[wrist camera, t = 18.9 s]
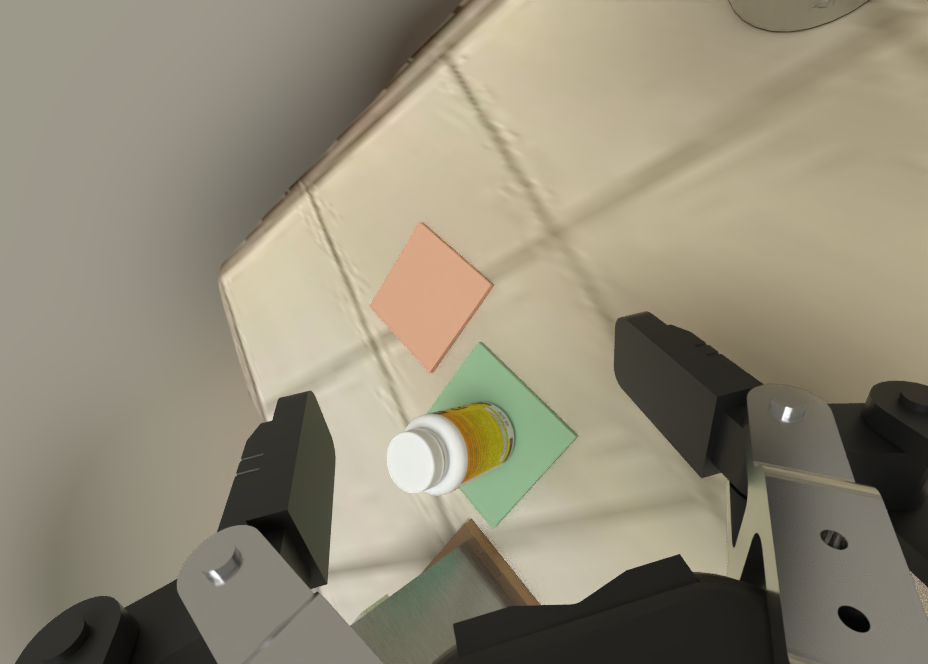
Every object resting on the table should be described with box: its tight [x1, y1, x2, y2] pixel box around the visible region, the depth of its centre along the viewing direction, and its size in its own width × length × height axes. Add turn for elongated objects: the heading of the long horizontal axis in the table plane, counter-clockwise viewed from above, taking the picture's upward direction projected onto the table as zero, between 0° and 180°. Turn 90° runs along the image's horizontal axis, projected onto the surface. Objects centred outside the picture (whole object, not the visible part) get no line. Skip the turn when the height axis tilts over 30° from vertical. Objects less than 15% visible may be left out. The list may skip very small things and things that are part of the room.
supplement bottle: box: [387, 402, 514, 495], centre depth 32 cm, size 6×6×10 cm
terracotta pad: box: [369, 222, 494, 373], centre depth 41 cm, size 10×10×1 cm
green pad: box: [427, 342, 578, 529], centre depth 37 cm, size 11×11×1 cm
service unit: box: [350, 519, 540, 664], centre depth 31 cm, size 9×8×15 cm
